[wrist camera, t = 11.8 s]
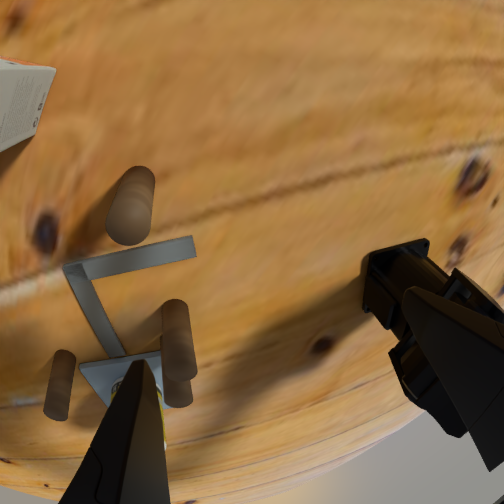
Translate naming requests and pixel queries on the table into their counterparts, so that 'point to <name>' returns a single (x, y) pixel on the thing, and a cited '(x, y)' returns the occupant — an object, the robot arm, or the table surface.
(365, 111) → the table surface
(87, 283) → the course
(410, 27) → the table surface
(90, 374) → the pad
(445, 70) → the table surface
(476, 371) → the robot arm
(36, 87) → the skincare box
